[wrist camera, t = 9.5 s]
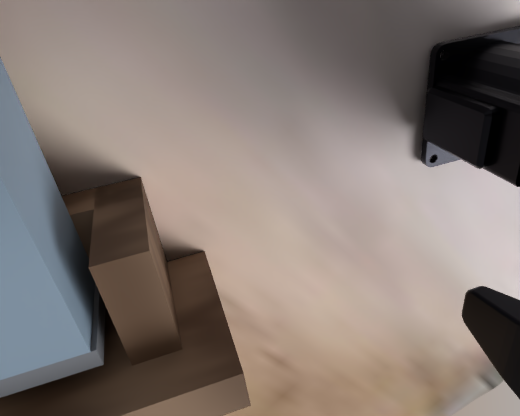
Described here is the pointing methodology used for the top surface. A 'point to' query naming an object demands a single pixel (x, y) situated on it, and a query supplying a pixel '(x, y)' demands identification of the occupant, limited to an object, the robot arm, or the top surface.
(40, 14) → the top surface
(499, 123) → the robot arm
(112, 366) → the headboard posts
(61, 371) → the bed rail
